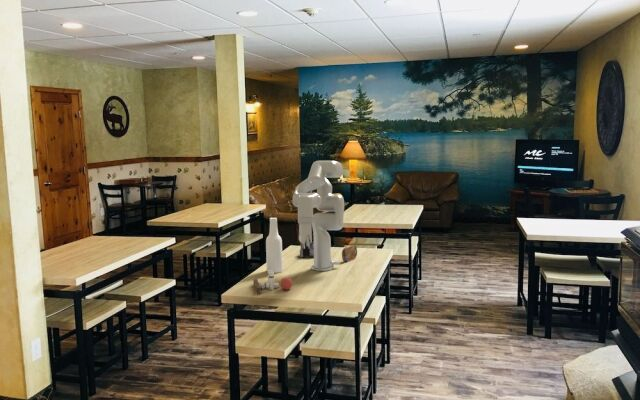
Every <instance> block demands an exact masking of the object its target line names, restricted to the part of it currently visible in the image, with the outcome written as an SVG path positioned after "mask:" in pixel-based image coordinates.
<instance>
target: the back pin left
mask: <svg viewBox="0 0 640 400" xmlns="http://www.w3.org/2000/svg"><path fill="white" fill-rule="evenodd" d="M274 283H275V273H274V272H269V288H268V289H269V291H275V288H274Z"/></svg>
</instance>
